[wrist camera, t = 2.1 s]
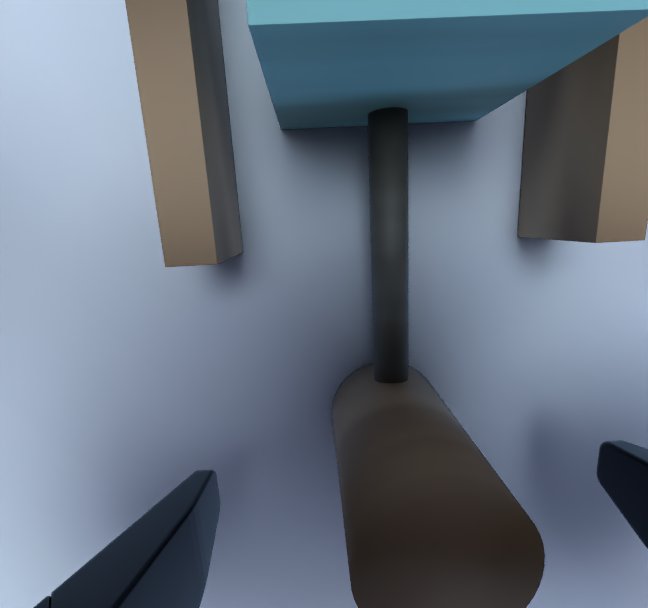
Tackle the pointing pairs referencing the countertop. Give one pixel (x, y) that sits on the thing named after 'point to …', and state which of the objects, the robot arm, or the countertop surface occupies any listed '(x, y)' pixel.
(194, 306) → the countertop surface
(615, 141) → the walnut lane rack
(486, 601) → the blue handled block
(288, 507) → the countertop surface
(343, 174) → the countertop surface
